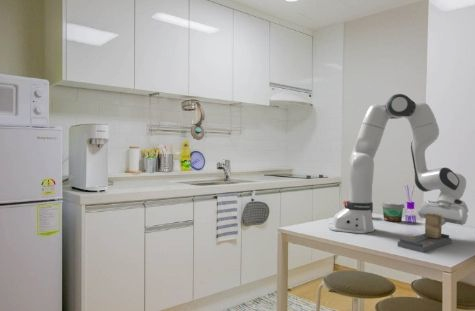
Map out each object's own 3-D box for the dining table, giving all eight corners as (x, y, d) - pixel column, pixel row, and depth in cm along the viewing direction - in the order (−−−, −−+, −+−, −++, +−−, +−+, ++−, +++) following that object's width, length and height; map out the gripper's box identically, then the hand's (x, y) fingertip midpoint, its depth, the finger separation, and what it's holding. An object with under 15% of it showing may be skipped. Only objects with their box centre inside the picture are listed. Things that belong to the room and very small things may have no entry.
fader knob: (429, 234, 170) (430, 212, 170) (441, 237, 166) (441, 214, 166) (424, 236, 168) (425, 213, 167) (436, 238, 164) (437, 215, 163)
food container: (384, 222, 205) (385, 204, 204) (381, 220, 211) (381, 202, 210) (407, 223, 204) (408, 205, 204) (403, 220, 210) (403, 203, 210)
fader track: (426, 237, 175) (426, 230, 175) (451, 242, 166) (451, 235, 166) (397, 246, 160) (397, 238, 160) (423, 252, 151) (423, 244, 151)
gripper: (422, 196, 181) (411, 218, 175) (468, 202, 164) (457, 227, 159) (426, 204, 184) (415, 226, 178) (472, 211, 167) (461, 236, 162)
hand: (435, 227), depth 168 cm, fingers closed
